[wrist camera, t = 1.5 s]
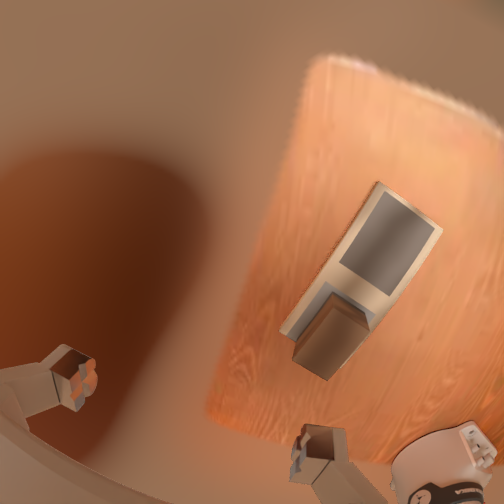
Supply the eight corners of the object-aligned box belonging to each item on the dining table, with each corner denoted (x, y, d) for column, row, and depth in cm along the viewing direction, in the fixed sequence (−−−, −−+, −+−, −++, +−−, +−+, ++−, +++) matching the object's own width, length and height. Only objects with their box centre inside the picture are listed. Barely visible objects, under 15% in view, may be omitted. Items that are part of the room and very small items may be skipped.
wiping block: (364, 312, 32) (370, 331, 27) (328, 357, 34) (327, 381, 29) (332, 291, 32) (333, 307, 27) (296, 338, 34) (291, 360, 29)
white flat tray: (438, 228, 29) (443, 229, 28) (340, 362, 35) (340, 369, 34) (376, 181, 30) (379, 181, 29) (280, 326, 36) (278, 331, 35)
